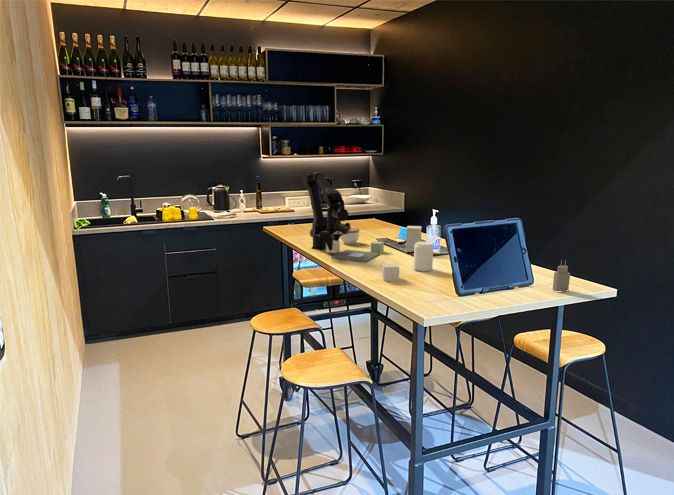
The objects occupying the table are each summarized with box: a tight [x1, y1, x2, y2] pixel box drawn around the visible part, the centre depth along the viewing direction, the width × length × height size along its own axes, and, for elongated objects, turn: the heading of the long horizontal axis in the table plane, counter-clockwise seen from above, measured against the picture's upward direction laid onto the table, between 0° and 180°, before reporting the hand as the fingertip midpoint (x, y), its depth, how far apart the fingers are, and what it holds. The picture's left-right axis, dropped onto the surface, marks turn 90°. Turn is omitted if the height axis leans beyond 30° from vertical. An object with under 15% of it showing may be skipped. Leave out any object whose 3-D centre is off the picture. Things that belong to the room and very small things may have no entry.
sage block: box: [370, 240, 385, 254], centre depth 252 cm, size 5×5×5 cm
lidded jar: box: [339, 225, 360, 245], centre depth 272 cm, size 11×11×9 cm
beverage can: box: [413, 240, 434, 273], centre depth 219 cm, size 8×8×12 cm
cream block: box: [325, 240, 341, 254], centre depth 247 cm, size 5×5×5 cm
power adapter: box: [552, 259, 571, 292], centre depth 190 cm, size 3×5×12 cm, turn 106°
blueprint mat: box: [330, 249, 381, 263], centre depth 244 cm, size 18×18×1 cm
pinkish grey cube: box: [381, 262, 400, 282], centre depth 205 cm, size 6×6×6 cm
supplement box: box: [405, 225, 423, 253], centre depth 253 cm, size 7×7×13 cm
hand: (332, 249), depth 247 cm, fingers closed on cream block, 5 cm apart
